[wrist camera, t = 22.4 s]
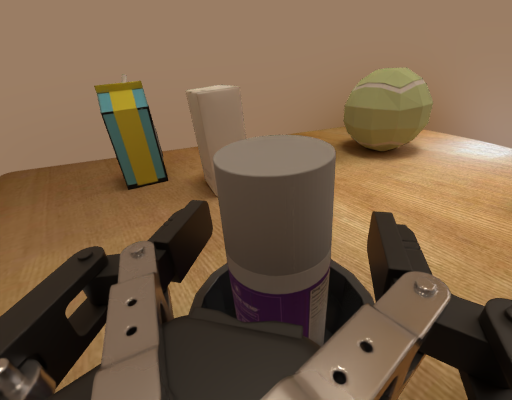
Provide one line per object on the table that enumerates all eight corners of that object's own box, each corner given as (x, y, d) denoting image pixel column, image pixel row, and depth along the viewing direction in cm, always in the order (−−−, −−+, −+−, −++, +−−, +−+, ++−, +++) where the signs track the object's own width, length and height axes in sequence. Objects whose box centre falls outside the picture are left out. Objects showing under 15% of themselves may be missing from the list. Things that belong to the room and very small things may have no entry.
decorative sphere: (433, 145, 53) (455, 64, 46) (395, 166, 45) (414, 72, 38) (367, 134, 64) (376, 66, 56) (327, 149, 56) (332, 73, 49)
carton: (165, 167, 54) (140, 72, 46) (169, 180, 48) (141, 73, 39) (127, 174, 52) (93, 76, 43) (127, 189, 46) (86, 78, 37)
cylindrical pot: (403, 416, 15) (434, 344, 11) (243, 543, 11) (221, 495, 8) (303, 294, 23) (304, 231, 20) (192, 347, 19) (170, 281, 16)
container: (234, 393, 16) (181, 168, 9) (265, 328, 19) (246, 131, 12) (308, 433, 14) (321, 186, 7) (327, 353, 18) (349, 136, 10)
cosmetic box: (252, 188, 42) (243, 86, 34) (214, 199, 40) (194, 92, 32) (236, 171, 49) (225, 83, 41) (202, 179, 47) (183, 87, 39)
